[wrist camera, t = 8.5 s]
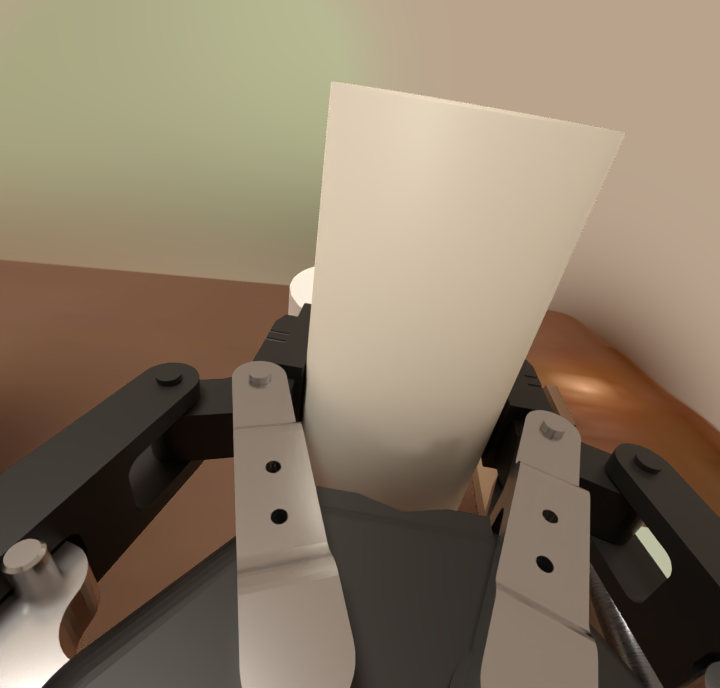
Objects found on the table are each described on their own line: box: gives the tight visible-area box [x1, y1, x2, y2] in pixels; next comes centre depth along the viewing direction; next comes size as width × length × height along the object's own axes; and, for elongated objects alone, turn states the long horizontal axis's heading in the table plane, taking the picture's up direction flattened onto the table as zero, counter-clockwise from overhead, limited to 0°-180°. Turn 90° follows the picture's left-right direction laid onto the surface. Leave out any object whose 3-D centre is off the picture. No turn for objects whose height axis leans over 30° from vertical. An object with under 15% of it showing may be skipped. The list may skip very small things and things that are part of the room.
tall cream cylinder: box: [301, 82, 626, 511], centre depth 12 cm, size 5×5×16 cm
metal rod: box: [589, 563, 663, 688], centre depth 14 cm, size 1×18×1 cm, turn 175°
